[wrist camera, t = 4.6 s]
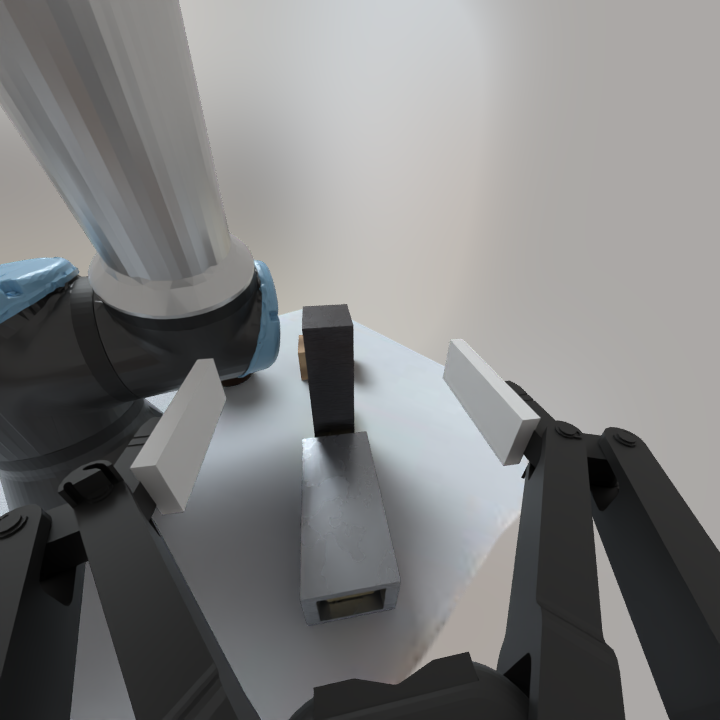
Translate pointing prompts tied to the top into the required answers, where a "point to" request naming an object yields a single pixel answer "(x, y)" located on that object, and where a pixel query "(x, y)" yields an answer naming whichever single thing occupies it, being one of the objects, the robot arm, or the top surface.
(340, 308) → the grey yellow upright-t piece
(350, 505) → the sleeve
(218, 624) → the top surface
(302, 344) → the open wooden box
